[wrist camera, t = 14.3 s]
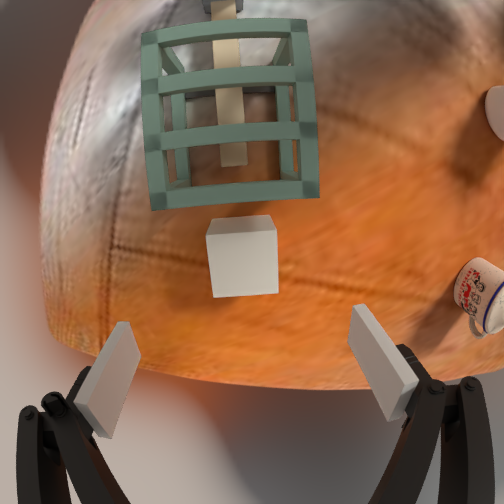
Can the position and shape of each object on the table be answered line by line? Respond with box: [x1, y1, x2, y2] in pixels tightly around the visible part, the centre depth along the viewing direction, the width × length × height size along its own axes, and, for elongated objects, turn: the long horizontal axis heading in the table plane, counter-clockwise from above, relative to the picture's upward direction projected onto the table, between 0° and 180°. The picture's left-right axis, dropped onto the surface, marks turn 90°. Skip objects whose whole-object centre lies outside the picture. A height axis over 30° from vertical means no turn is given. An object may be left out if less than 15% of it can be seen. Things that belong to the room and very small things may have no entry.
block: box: [206, 215, 279, 298], centre depth 27 cm, size 6×6×6 cm
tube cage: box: [141, 18, 320, 211], centre depth 20 cm, size 13×11×10 cm
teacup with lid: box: [454, 257, 504, 339], centre depth 29 cm, size 12×9×12 cm
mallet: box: [202, 0, 248, 167], centre depth 18 cm, size 23×4×10 cm, turn 4°
